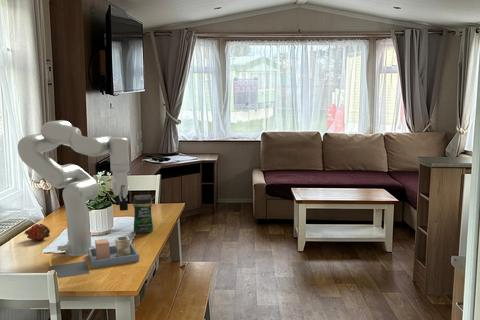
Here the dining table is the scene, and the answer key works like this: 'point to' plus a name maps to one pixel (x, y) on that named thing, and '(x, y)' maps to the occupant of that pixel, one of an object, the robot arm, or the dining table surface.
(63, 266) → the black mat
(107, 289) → the dining table surface
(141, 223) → the coffee jar
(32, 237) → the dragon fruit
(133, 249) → the slate bin
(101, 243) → the terracotta box
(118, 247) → the birch box
